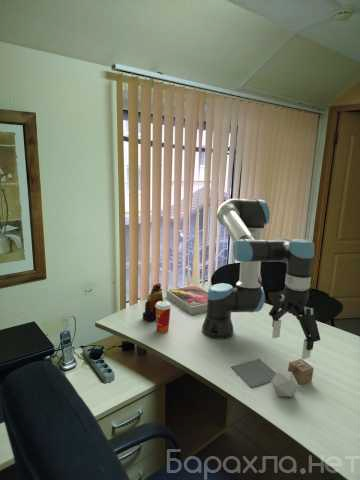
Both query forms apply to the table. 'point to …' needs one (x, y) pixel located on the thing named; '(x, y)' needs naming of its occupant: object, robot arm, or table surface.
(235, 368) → the grey mat
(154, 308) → the statue
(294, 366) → the letter block
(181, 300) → the product packaging
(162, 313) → the paper cup
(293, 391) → the die
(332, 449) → the table surface
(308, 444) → the table surface
